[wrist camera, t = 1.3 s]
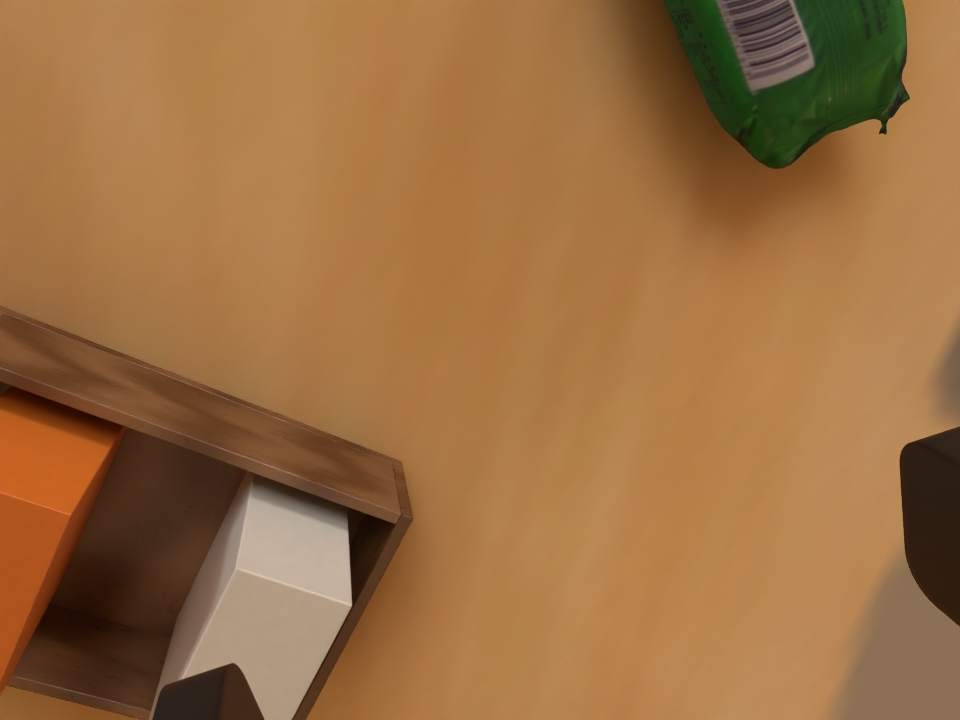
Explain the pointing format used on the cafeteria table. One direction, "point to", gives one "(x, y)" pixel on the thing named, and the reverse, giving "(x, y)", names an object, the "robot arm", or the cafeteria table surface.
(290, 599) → the block
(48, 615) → the brown wooden tray
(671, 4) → the snack package
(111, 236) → the cafeteria table surface
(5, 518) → the block
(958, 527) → the robot arm
